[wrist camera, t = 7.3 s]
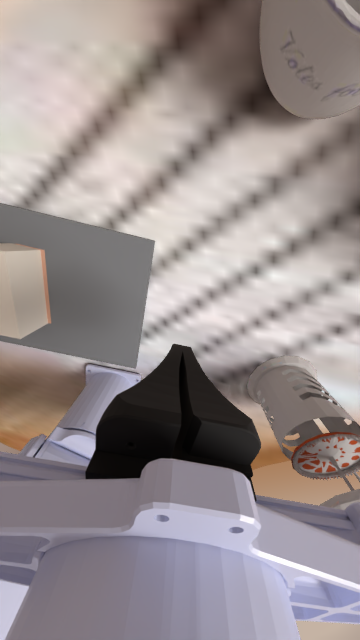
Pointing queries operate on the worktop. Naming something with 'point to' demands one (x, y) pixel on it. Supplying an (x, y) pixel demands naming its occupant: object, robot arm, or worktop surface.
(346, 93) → the teacup
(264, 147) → the worktop surface
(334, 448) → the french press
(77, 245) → the slate mat
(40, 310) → the t block
